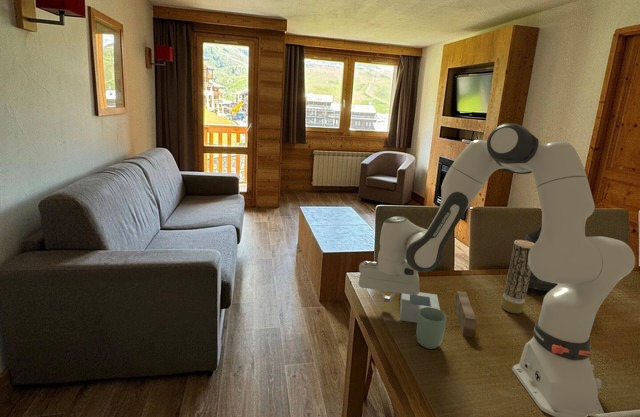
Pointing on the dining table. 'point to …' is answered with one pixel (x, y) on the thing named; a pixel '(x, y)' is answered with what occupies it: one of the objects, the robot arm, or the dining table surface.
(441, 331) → the cup
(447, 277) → the dining table surface
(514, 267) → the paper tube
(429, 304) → the holed block
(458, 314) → the walnut wall
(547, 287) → the beer stein
